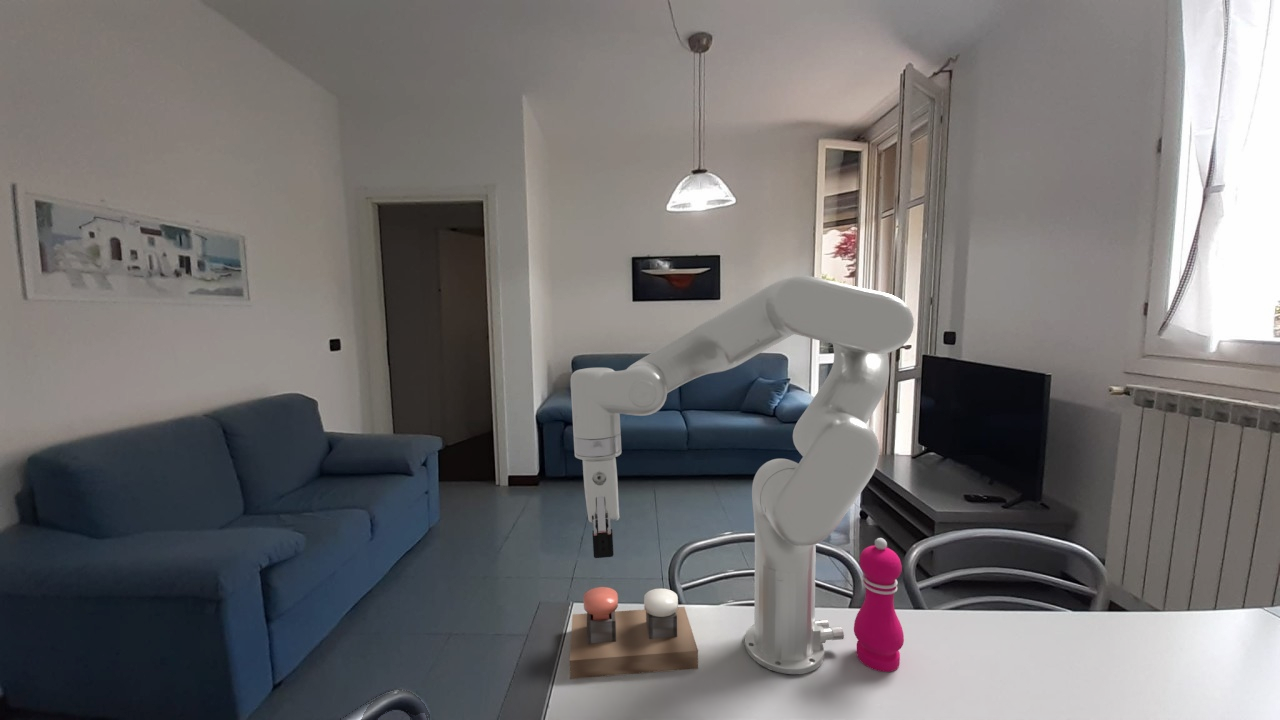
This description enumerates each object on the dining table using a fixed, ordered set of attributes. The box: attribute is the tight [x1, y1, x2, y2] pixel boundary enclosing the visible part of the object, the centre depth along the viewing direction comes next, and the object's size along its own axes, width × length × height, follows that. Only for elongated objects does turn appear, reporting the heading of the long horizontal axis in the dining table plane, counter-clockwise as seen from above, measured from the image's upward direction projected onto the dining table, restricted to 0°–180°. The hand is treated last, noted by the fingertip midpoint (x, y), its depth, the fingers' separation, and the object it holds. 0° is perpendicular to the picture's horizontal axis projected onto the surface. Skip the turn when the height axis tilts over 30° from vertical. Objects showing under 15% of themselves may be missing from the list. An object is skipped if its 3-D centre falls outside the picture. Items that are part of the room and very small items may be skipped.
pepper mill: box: [853, 537, 905, 673], centre depth 80 cm, size 7×7×20 cm
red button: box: [583, 586, 619, 620], centre depth 83 cm, size 6×6×5 cm
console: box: [568, 606, 699, 680], centre depth 84 cm, size 20×12×6 cm, turn 95°
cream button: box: [643, 588, 679, 617], centre depth 84 cm, size 6×6×5 cm
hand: (603, 554), depth 82 cm, fingers closed
